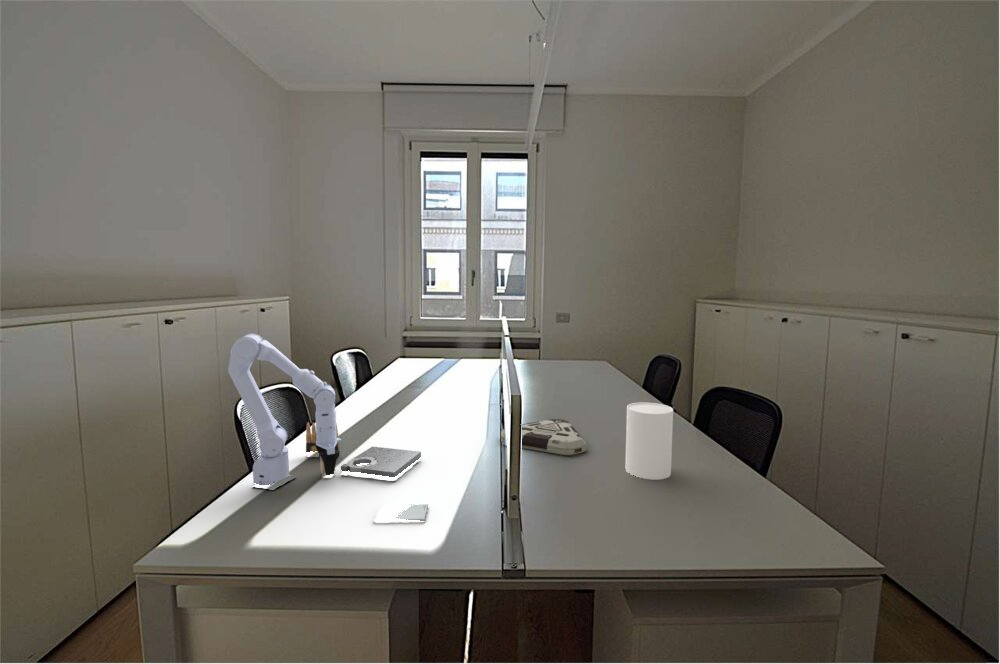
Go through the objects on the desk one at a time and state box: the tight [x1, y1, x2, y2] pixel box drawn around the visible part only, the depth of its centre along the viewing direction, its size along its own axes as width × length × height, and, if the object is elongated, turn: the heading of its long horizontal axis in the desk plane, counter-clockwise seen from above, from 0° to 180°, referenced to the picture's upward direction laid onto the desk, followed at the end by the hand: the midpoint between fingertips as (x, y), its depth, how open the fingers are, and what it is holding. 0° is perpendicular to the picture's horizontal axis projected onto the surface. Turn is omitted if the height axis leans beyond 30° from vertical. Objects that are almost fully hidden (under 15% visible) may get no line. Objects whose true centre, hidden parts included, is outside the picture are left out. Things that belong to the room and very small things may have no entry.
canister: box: [624, 401, 674, 481], centre depth 150 cm, size 14×14×20 cm
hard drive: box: [396, 503, 429, 522], centre depth 123 cm, size 2×8×12 cm
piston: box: [319, 456, 336, 474], centre depth 147 cm, size 4×4×7 cm
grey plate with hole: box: [340, 446, 422, 477], centre depth 154 cm, size 18×18×3 cm
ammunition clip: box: [305, 421, 340, 453], centre depth 163 cm, size 11×2×12 cm, turn 95°
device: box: [500, 418, 587, 457], centre depth 181 cm, size 33×27×5 cm
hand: (327, 470), depth 147 cm, fingers open, 6 cm apart
